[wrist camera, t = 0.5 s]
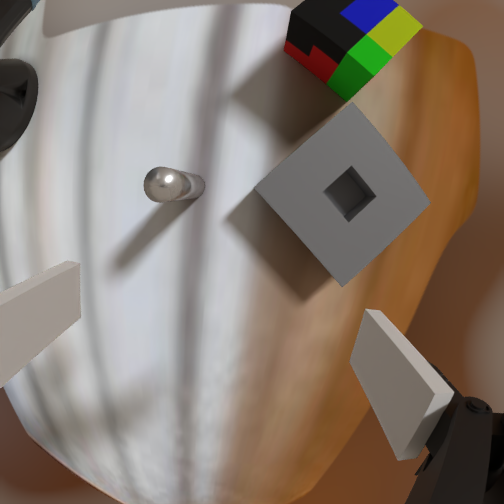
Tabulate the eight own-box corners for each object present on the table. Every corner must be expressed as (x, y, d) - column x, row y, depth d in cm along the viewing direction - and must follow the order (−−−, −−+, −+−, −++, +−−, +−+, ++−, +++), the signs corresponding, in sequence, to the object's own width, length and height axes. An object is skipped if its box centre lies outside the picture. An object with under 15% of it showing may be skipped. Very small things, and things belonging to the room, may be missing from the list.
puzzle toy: (331, 9, 31) (349, -32, 22) (390, 57, 33) (423, 26, 23) (283, 51, 33) (291, 11, 23) (346, 102, 34) (374, 76, 24)
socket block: (254, 188, 36) (253, 187, 31) (340, 112, 34) (352, 101, 29) (332, 275, 38) (342, 287, 33) (411, 200, 36) (430, 202, 31)
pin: (177, 186, 36) (136, 184, 24) (194, 169, 36) (161, 159, 23) (192, 203, 37) (159, 210, 24) (210, 186, 36) (184, 184, 24)
